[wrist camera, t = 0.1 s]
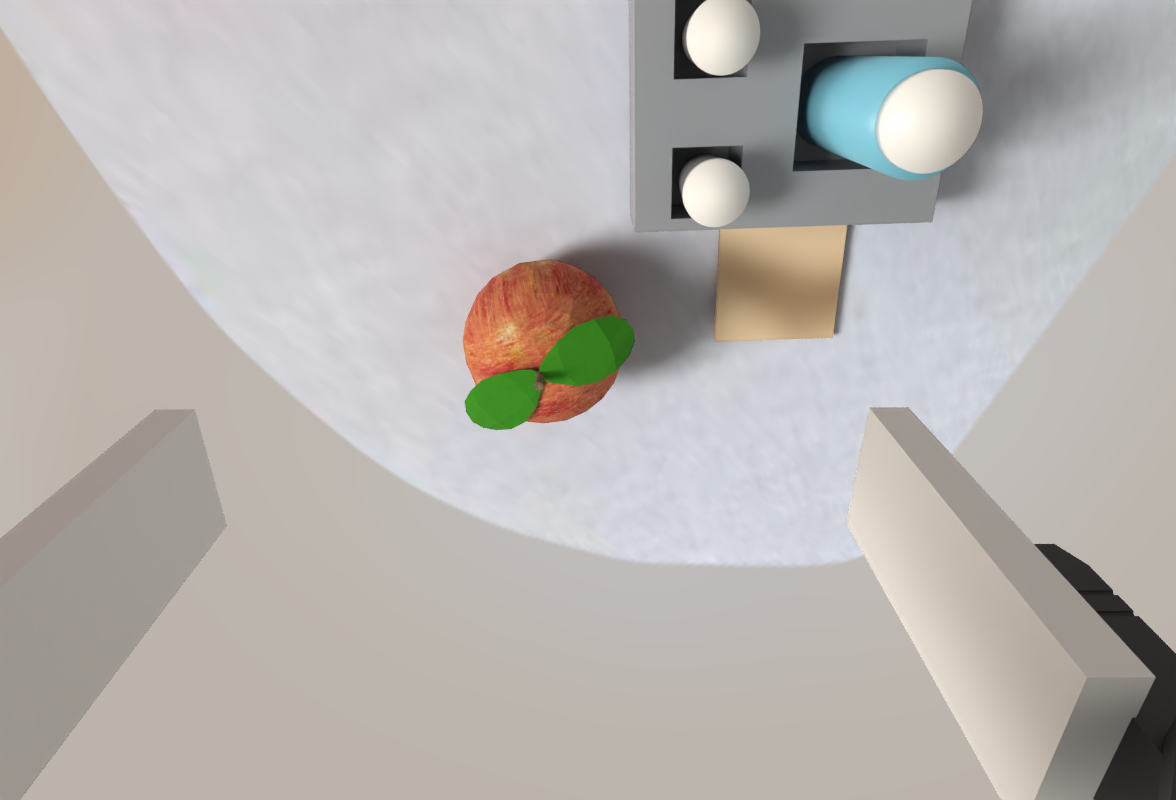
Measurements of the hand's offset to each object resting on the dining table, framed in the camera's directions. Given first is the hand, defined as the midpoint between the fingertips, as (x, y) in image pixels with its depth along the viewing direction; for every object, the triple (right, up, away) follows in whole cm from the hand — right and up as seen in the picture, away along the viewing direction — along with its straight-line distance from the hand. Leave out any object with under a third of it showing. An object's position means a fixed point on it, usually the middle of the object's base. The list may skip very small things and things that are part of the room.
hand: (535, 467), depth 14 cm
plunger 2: (+7, +12, +22) cm, 26 cm away
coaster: (+12, +8, +27) cm, 31 cm away
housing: (+11, +17, +23) cm, 30 cm away
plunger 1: (+7, +18, +19) cm, 27 cm away
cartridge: (+14, +17, +22) cm, 31 cm away
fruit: (-1, +7, +28) cm, 29 cm away
